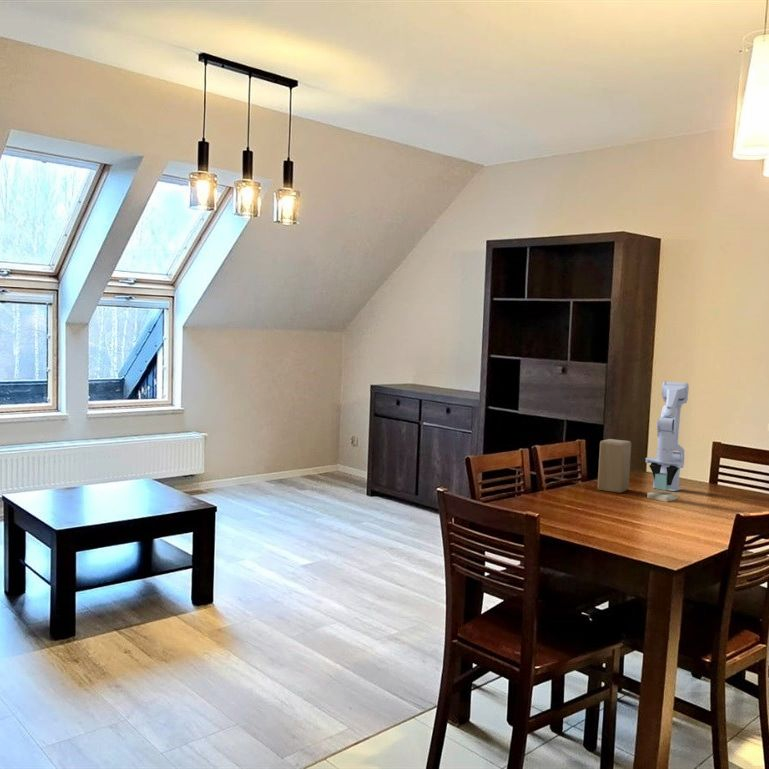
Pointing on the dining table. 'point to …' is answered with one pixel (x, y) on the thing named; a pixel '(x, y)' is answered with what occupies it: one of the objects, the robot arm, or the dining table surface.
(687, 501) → the dining table surface
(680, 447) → the robot arm
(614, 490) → the wooden block
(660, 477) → the teal block
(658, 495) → the cream block
